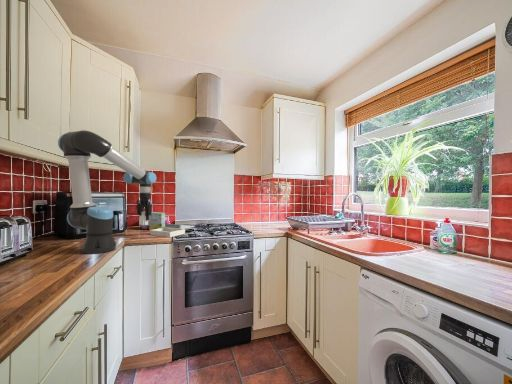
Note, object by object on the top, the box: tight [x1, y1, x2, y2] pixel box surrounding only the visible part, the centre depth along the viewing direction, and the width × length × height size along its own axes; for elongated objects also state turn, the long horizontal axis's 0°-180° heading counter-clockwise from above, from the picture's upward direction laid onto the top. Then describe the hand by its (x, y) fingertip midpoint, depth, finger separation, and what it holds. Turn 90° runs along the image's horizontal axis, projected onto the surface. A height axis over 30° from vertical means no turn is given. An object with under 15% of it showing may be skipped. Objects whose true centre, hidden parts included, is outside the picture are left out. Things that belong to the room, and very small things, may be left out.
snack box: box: [140, 211, 166, 231], centre depth 192 cm, size 21×6×15 cm, turn 73°
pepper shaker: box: [138, 211, 145, 226], centre depth 163 cm, size 4×4×10 cm
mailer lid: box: [162, 223, 196, 230], centre depth 183 cm, size 16×20×3 cm
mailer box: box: [149, 228, 186, 238], centre depth 171 cm, size 16×20×4 cm
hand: (143, 224), depth 163 cm, fingers closed on pepper shaker, 4 cm apart
